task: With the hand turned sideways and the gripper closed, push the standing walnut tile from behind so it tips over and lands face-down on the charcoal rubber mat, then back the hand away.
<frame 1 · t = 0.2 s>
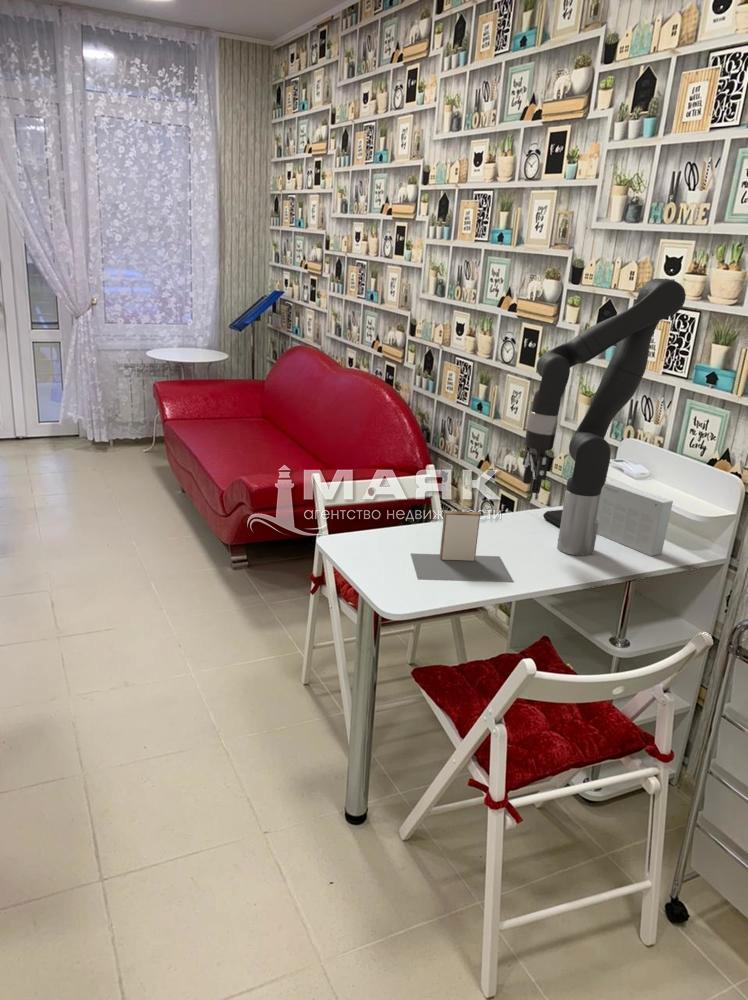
hand: (530, 487, 204), 18 cm above the table, tool pointing down, fingers open, 8 cm apart
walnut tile: (457, 559, 197), point 1 cm above the table, touching charcoal mat
skincare box: (626, 543, 219), on the table
charcoal mat: (460, 569, 192), on the table
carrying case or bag: (568, 526, 230), on the table
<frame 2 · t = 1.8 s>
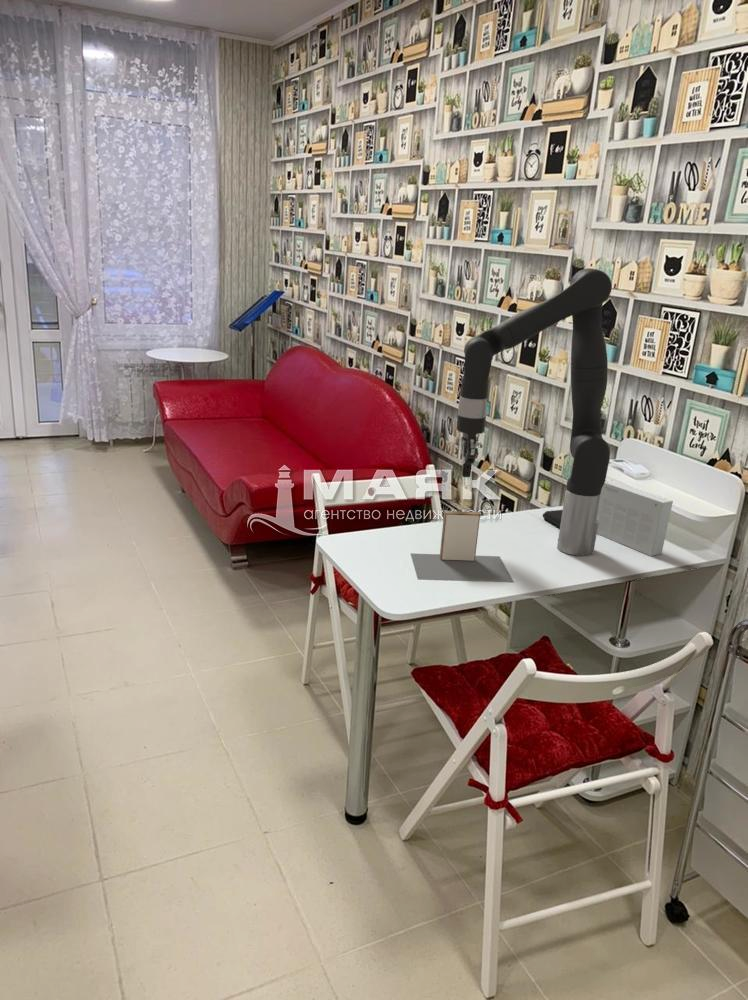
hand: (465, 476, 205), 19 cm above the table, tool pointing down, fingers closed
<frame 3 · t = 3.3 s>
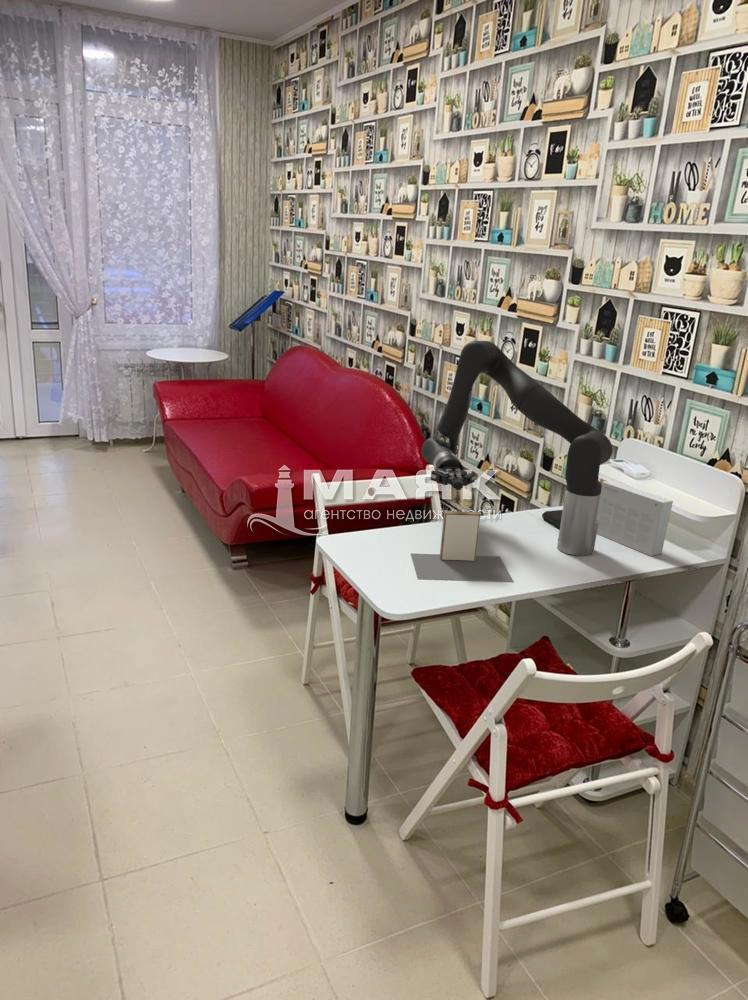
hand: (458, 486, 199), 18 cm above the table, tool horizontal, fingers closed
nothing on the table moved.
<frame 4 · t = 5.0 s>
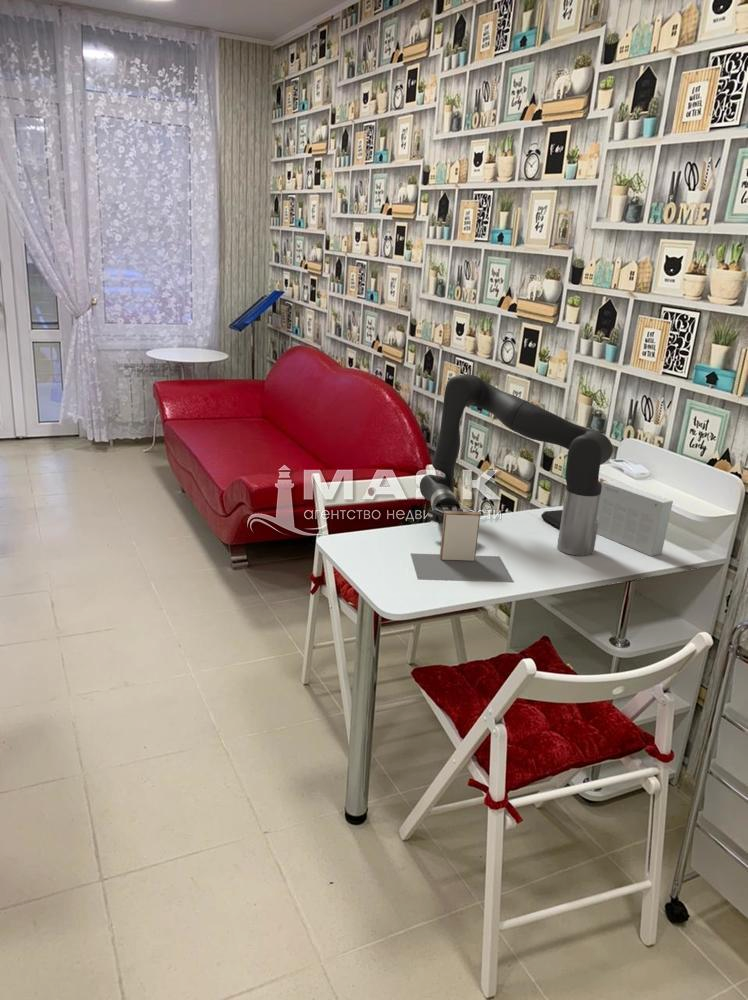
hand: (454, 526, 202), 7 cm above the table, tool horizontal, fingers closed
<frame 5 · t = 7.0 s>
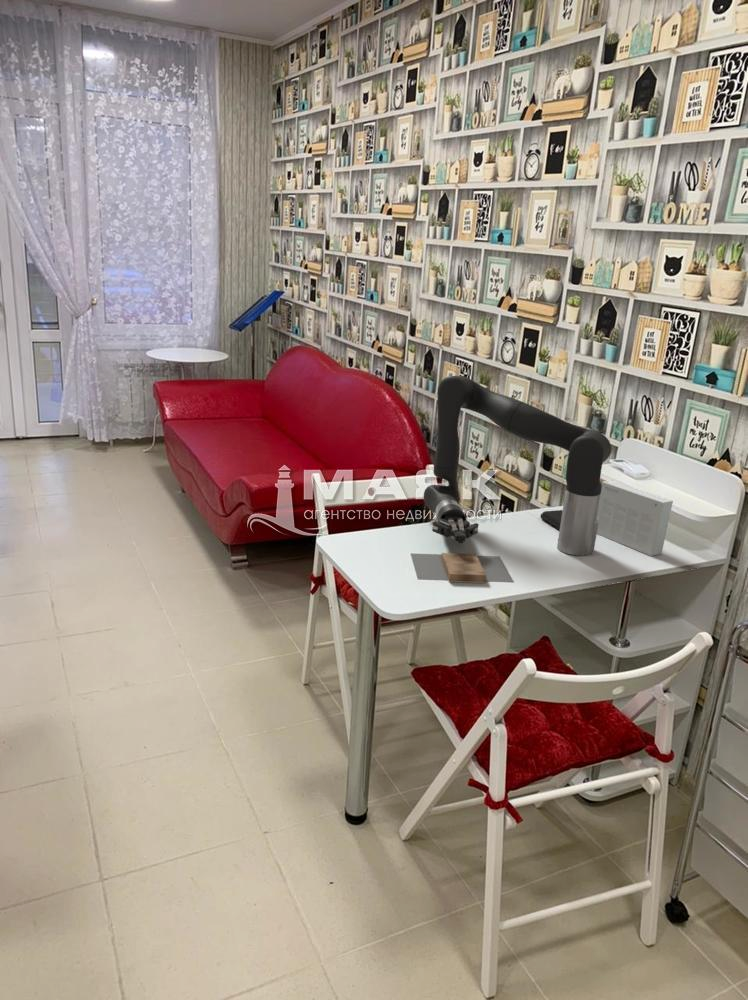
hand: (461, 539, 193), 7 cm above the table, tool horizontal, fingers closed
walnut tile: (458, 557, 196), point 2 cm above the table, tilted 90°, touching charcoal mat
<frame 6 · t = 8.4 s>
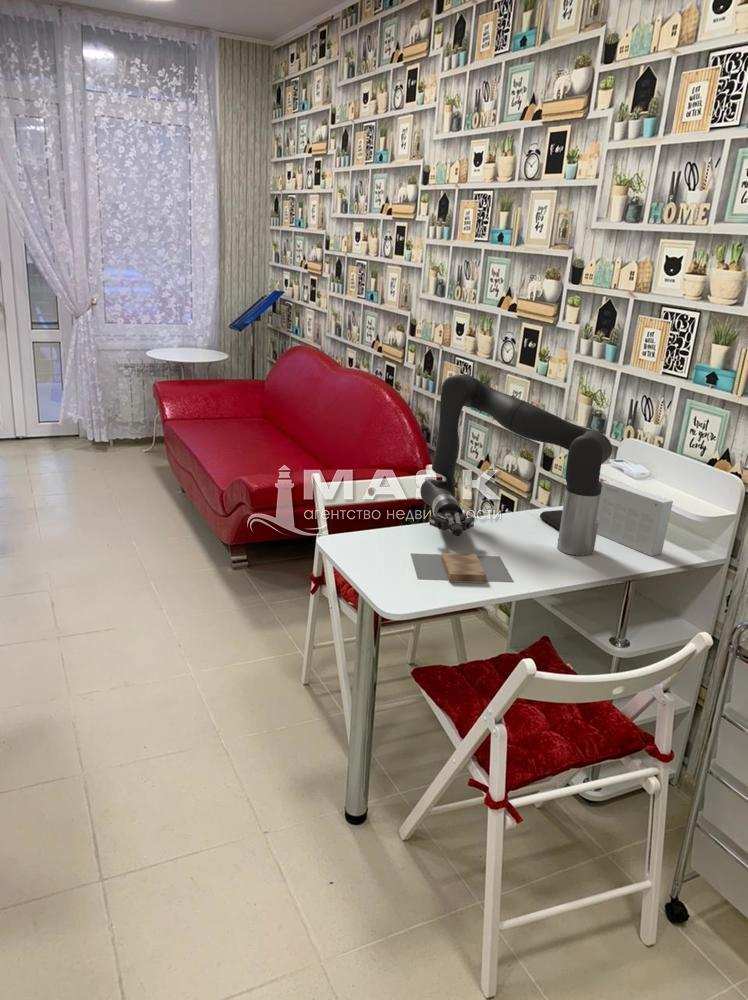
hand: (457, 532, 198), 7 cm above the table, tool horizontal, fingers closed
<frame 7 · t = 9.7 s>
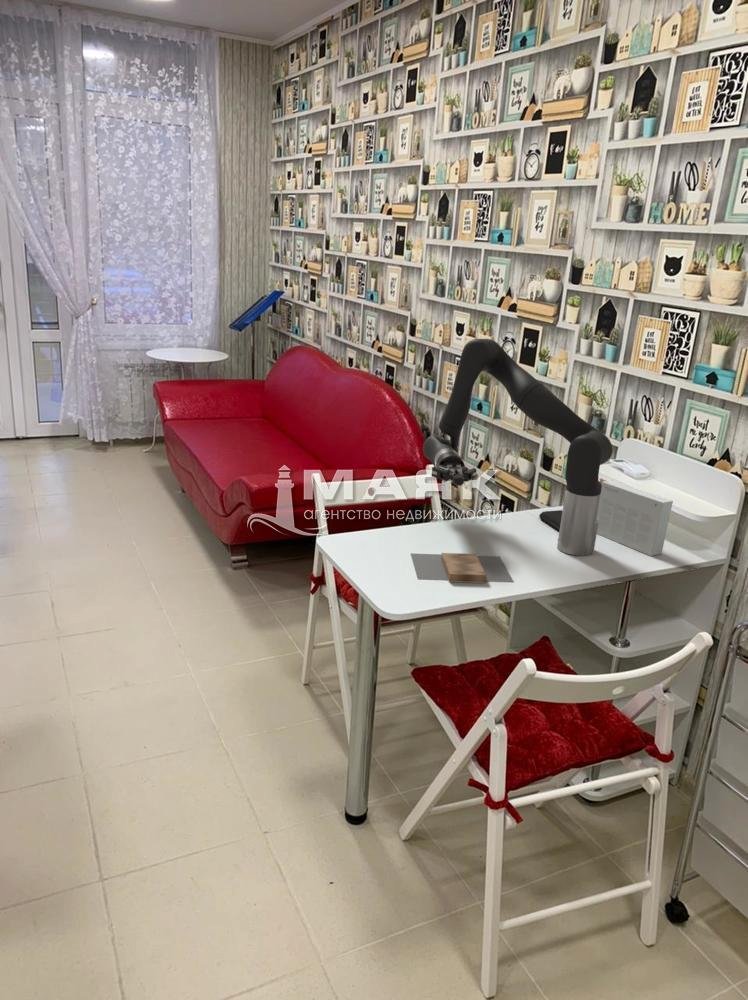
hand: (459, 481, 198), 19 cm above the table, tool horizontal, fingers closed
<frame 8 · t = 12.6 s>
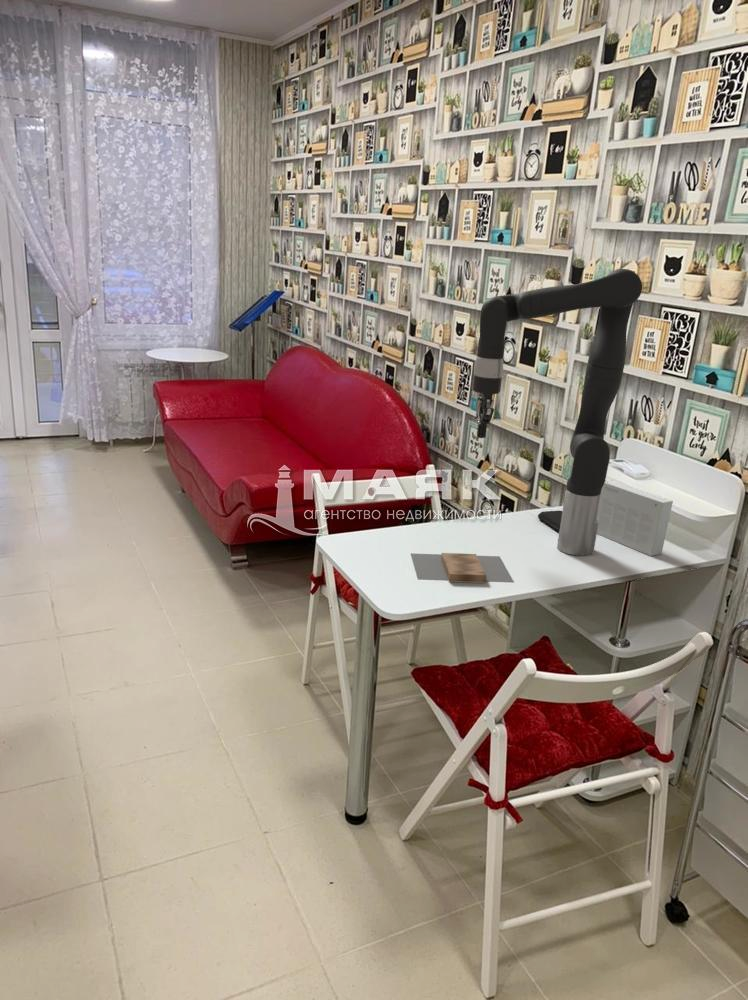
hand: (480, 437, 206), 29 cm above the table, tool pointing down, fingers closed
at the end: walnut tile tilted 90°; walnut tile inside the target area (2.3 cm from its centre), point 1.7 cm above the table; the gripper is holding nothing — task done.
